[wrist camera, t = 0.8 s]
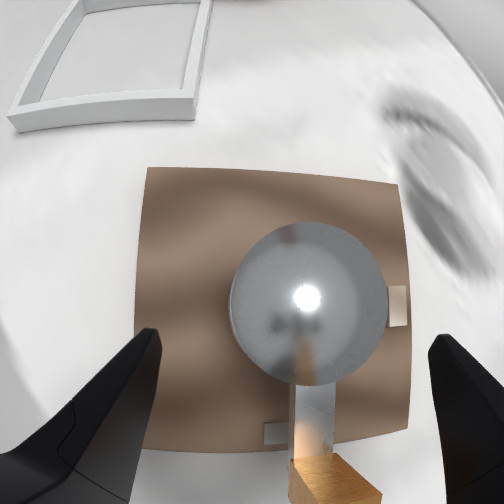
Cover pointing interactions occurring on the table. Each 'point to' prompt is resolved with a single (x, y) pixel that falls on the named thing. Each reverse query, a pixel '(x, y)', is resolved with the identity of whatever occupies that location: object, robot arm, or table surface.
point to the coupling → (311, 341)
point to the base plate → (216, 305)
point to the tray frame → (111, 103)
